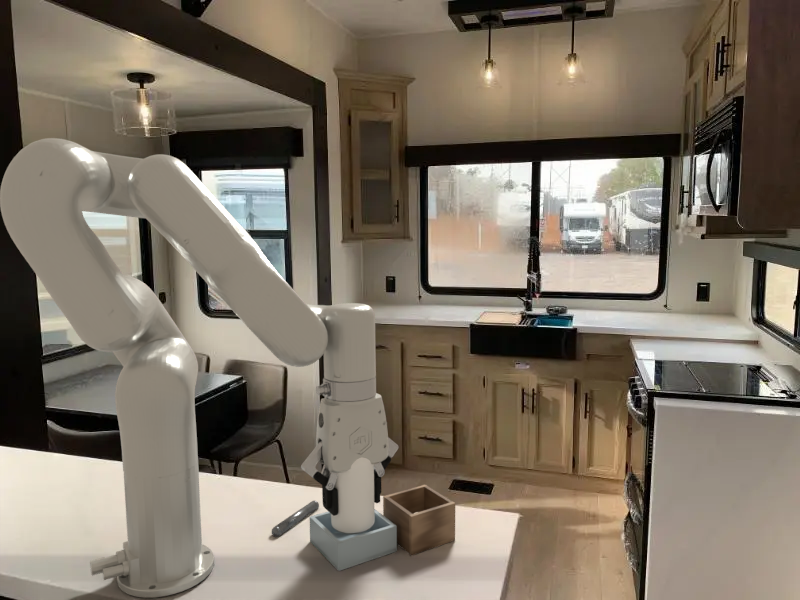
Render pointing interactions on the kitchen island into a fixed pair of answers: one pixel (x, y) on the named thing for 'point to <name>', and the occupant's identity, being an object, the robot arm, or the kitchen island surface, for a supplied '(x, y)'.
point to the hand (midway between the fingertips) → (352, 504)
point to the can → (355, 498)
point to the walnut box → (420, 518)
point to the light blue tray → (352, 541)
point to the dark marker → (294, 518)
